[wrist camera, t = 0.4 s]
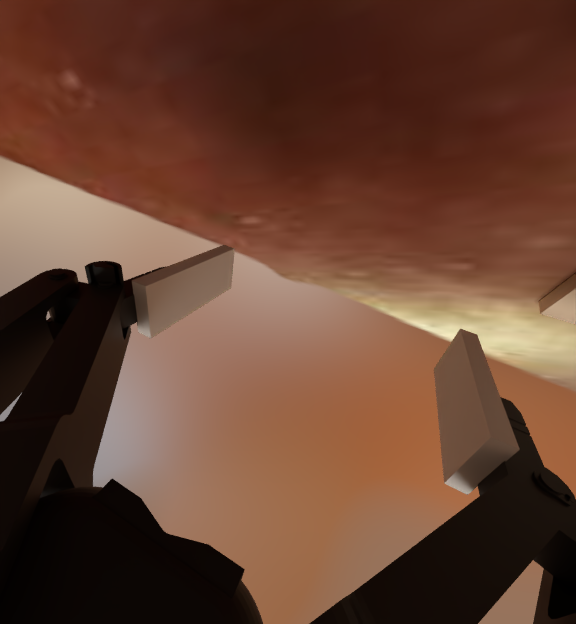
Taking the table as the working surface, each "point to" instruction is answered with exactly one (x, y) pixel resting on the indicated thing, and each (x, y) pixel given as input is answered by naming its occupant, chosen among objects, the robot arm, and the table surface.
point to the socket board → (561, 302)
